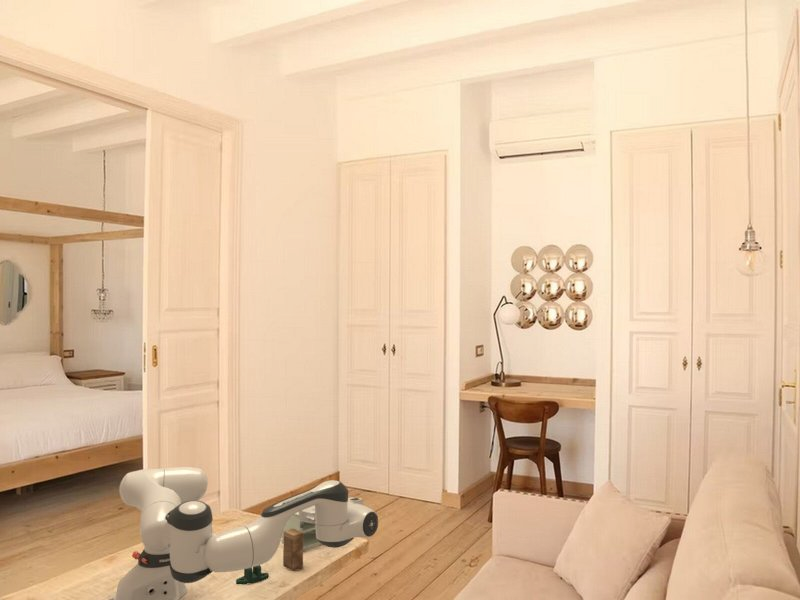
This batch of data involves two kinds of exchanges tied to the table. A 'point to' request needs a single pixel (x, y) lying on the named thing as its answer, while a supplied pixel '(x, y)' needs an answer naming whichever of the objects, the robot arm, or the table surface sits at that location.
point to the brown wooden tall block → (293, 549)
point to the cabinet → (303, 527)
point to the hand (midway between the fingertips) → (316, 505)
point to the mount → (252, 575)
